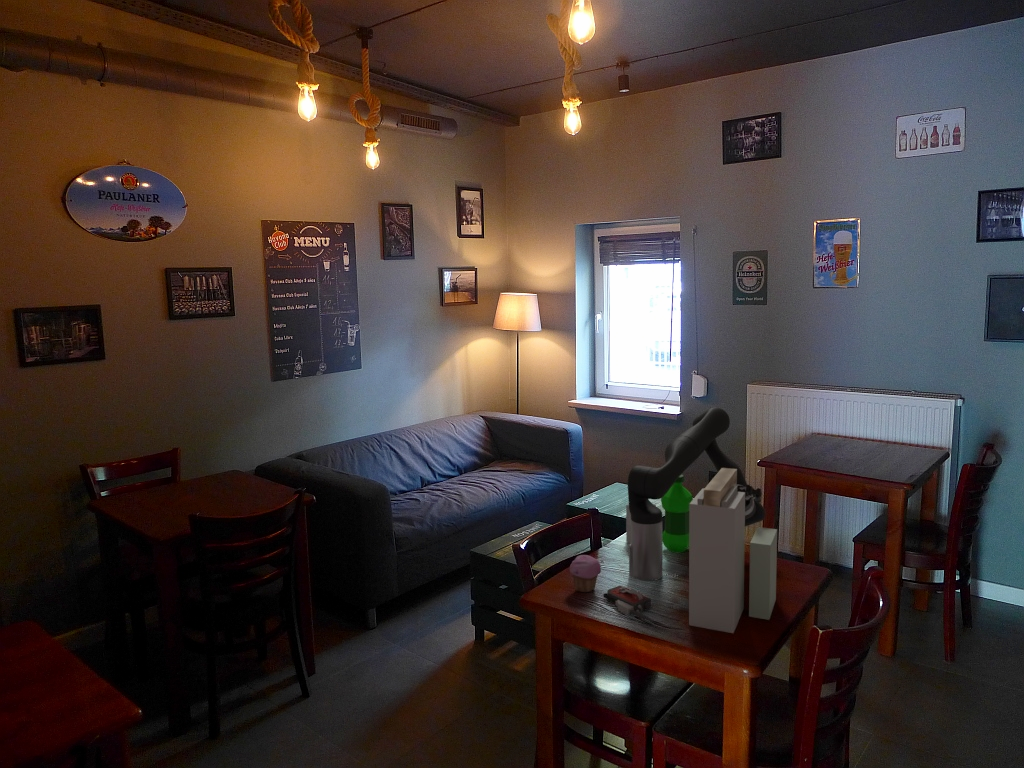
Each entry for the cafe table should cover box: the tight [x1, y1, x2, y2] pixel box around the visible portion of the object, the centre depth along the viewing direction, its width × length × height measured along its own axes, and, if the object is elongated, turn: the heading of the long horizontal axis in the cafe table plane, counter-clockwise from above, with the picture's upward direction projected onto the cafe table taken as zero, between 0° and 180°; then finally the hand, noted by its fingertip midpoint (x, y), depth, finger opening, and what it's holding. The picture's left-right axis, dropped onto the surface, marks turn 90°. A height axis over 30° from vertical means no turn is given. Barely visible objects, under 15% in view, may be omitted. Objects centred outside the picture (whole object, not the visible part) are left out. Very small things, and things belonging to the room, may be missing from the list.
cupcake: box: [569, 554, 602, 593], centre depth 206 cm, size 9×9×10 cm
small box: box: [625, 503, 657, 544], centre depth 243 cm, size 8×6×13 cm
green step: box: [748, 526, 778, 621], centre depth 190 cm, size 5×13×20 cm, turn 153°
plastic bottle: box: [660, 474, 694, 554], centre depth 234 cm, size 10×10×25 cm
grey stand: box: [688, 486, 746, 634], centre depth 185 cm, size 11×15×34 cm
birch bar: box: [704, 468, 737, 507], centre depth 186 cm, size 4×23×4 cm, turn 153°
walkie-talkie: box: [603, 585, 655, 624], centre depth 193 cm, size 9×4×20 cm
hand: (731, 486), depth 201 cm, fingers open, 8 cm apart
